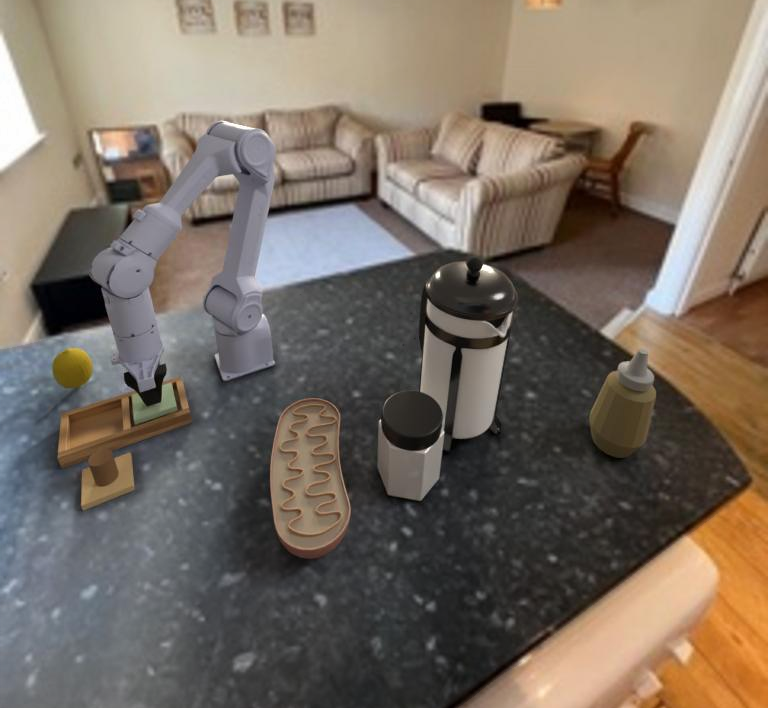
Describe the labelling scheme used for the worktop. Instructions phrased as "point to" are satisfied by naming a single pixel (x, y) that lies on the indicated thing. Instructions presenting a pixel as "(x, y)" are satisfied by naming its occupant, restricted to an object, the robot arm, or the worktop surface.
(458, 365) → the coffee press
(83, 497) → the sand pad
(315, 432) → the anatomical model
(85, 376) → the lemon
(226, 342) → the robot arm
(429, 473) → the jar
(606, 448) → the squeeze bottle
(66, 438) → the divided wooden tray
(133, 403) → the sage pad
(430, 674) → the worktop surface
